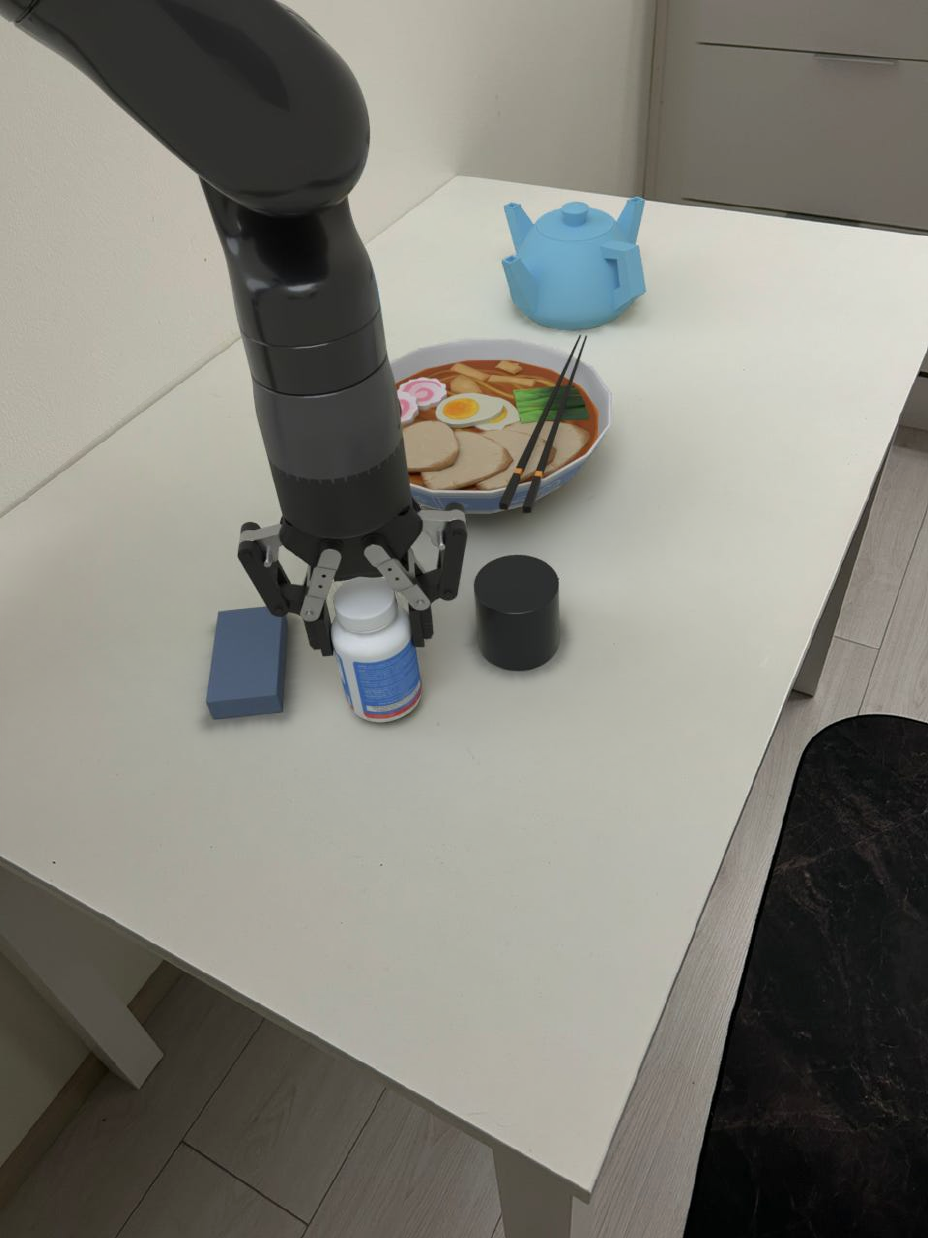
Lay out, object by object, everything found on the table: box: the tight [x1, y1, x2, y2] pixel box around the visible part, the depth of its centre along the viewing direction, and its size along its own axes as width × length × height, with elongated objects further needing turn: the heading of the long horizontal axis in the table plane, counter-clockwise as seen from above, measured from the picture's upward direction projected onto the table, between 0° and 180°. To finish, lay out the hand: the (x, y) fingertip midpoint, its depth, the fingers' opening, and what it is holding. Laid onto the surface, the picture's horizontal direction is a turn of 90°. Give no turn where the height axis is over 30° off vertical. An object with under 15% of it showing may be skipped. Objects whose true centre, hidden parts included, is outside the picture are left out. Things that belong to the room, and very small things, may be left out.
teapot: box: [501, 196, 647, 331], centre depth 103 cm, size 15×15×11 cm
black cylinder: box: [473, 554, 560, 672], centre depth 70 cm, size 6×6×6 cm
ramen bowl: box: [389, 334, 613, 515], centre depth 84 cm, size 25×23×8 cm
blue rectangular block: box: [205, 605, 289, 720], centre depth 72 cm, size 9×5×2 cm, turn 5°
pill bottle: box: [330, 577, 423, 723], centre depth 65 cm, size 6×5×10 cm
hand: (374, 641), depth 65 cm, fingers closed on pill bottle, 5 cm apart
